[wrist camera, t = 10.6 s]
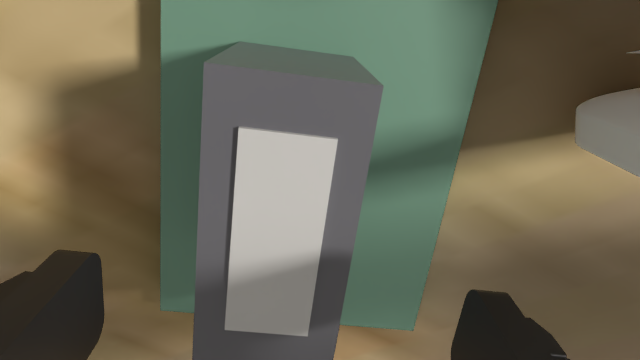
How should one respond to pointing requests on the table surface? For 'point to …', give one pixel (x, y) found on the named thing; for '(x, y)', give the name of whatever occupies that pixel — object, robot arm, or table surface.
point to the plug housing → (279, 199)
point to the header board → (389, 141)
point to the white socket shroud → (611, 128)
